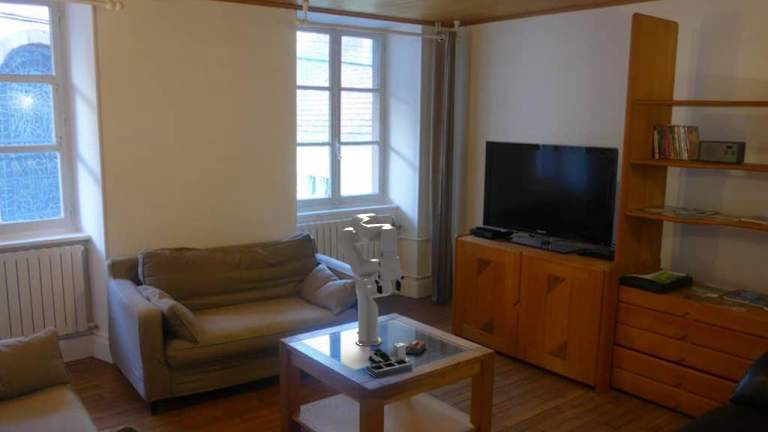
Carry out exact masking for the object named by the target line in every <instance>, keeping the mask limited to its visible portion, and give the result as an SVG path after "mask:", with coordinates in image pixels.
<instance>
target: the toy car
mask: <svg viewBox="0 0 768 432" xmlns="http://www.w3.org/2000/svg"><path fill="white" fill-rule="evenodd" d="M391 358H392V357H391V356H389V355H388V354H387V353H386V352H385V351H384V350H382V349H380V348H378V349H373V350H371V351H370V352H368V362H370V361H371V363H372V362H374V361H375V362H376V363H377V364H379V363H384V362H388V361H392V359H391Z"/></svg>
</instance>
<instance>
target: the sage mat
mask: <svg viewBox="0 0 768 432" xmlns="http://www.w3.org/2000/svg"><path fill="white" fill-rule="evenodd" d="M390 358H391V359H392V361H393V360H395V359H394V356H392V357H390ZM405 361H407V362H411V360H410V359H409V358H407V357H406V360H405Z"/></svg>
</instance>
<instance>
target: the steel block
mask: <svg viewBox="0 0 768 432" xmlns="http://www.w3.org/2000/svg"><path fill="white" fill-rule="evenodd" d="M406 345H407V344H406V343H404V342H397V343H393V357H394V359H395V360H397V359H401V358H402V359H403V360H406V358H407V355H406Z"/></svg>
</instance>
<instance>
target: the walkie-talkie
mask: <svg viewBox="0 0 768 432" xmlns="http://www.w3.org/2000/svg"><path fill="white" fill-rule="evenodd" d="M405 345H406V353H407V354H413V355H419V354H420V353H422V351H423V350H425V348H426V341H424V340H421V339H420V340H418V339H415V340H412V341H410V343H409V344H408V343H407V344H405Z"/></svg>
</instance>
